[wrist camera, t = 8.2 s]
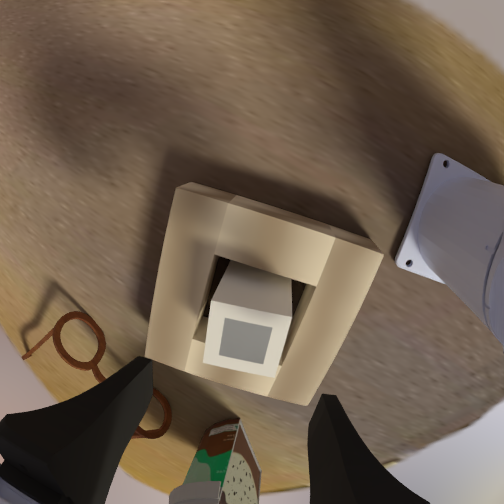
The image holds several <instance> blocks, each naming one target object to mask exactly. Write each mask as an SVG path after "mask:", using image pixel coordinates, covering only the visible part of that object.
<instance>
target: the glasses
mask: <svg viewBox="0 0 504 504" xmlns="http://www.w3.org/2000/svg"><path fill="white" fill-rule="evenodd" d="M72 319H79V320H82V321H84V322H85V323H87V324H88V325H89V326H90V327H91V328H92V330H93V331H94V332H95V334H96V336H97V339H98V350H97V353H96V355H95V356H94V358H93V359H92V360H91V361H89V362H80V361H77V360H75V359H74V358H72V357H71V356H70V355H69V354H68V353H67V352H66V350H65V349H64V347H63V345H62V343H61V339H60V332H61V329H62V327H63V325H64V324H65V323H66V322H67V321H69V320H72ZM52 335H53V342H54V345H55V348H56V350H57V352H58V354H59V355H60V356H61V358H62V359H63V360H64V361H65V362H66V363H68V364H69V365H70V366H72V367H74V368H76V369H80V370H85V371H86V370H90V369H92V371H93V374H94V376H95V378H96V380H97V381H98V382H99V383H101V382H103V381H104V380H106V378H105V377H104V376H103V375H102V374H101V372H100V370H99V368H98V366H97V364H98V363H99V361H100V360H101V358H102V356H103V355H104V352H105V349H106V341H105V337H104V334H103V332H102V330H101V328H100V327H99V326H98V325H97V324H96V322H95V321H94V320H93V319H92V318H91V317H90V316H88V315H86V314H85V313H82V312H77V311H74V312H69V313H67V314H65V315H64V316H62V317H61V318H60V319H59V320H58V321H57V323H56V325H55V327H54V328H53V329H52V330H51V331H50V332H49V333H48V334H47V335H46V336H45V337H44V338H43V339H42V340H41V341H40V342H39V343H37V344H36V345H35V346H34V347H33V348H32V349H31V350H30V351H29V352H27V353H26V354H25V355H23V356H22V359H23V360H25V359H27V358H29V357H30V356H32V355H31V354H32V353H33V352H34V351H36V350H37V349H38V348H39V347H40V346H41V345H42V344H43V343H44V342H45V341H47V340H48V339H49V338H50V337H51V336H52ZM153 396H154V397H156V398H157V399H158V400H159V402H160V403H161V405H162V407H163V409H164V415H165V416H164V422H163V424H162V426H161V427H160V429H156V430H148V431H145V430H143V429H142V428H141V427H140V426H139V425H138V427H137V429H136V430H135V432H134V434H133V436H132V438H131V439H133V438H148V439H155V438H159V437H161V436H163V435H164V434H165V433H166V431H167V430H168V429H169V426H170V424H171V419H172V413H171V408H170V405H169V403H168V401H167V400H166V398H165V397H164V396H163V395H162V394H161V393H160V392H159V391H158V390H156V389H155V388H153Z"/></svg>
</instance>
